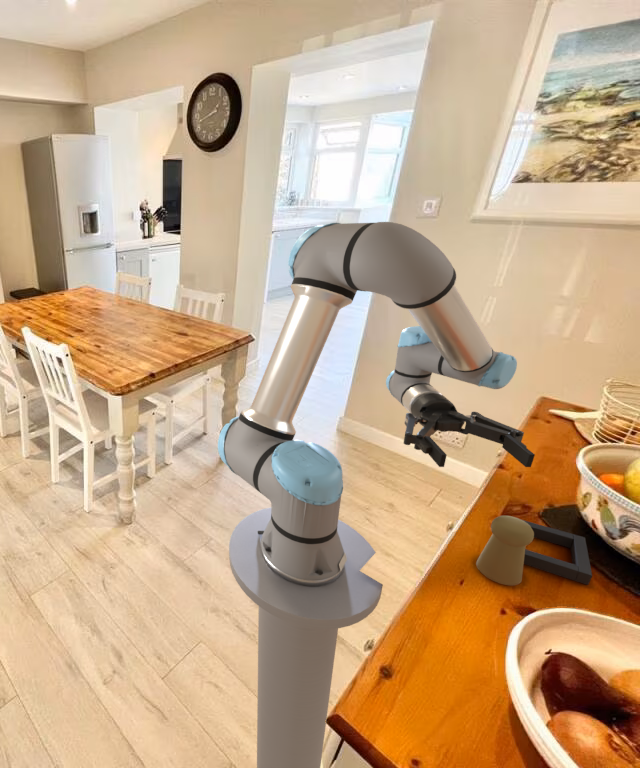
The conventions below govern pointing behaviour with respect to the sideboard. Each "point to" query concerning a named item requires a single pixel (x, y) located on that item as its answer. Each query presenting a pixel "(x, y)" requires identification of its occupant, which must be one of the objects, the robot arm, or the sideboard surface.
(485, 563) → the cork
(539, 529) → the dock pad
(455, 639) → the sideboard surface
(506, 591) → the sideboard surface
